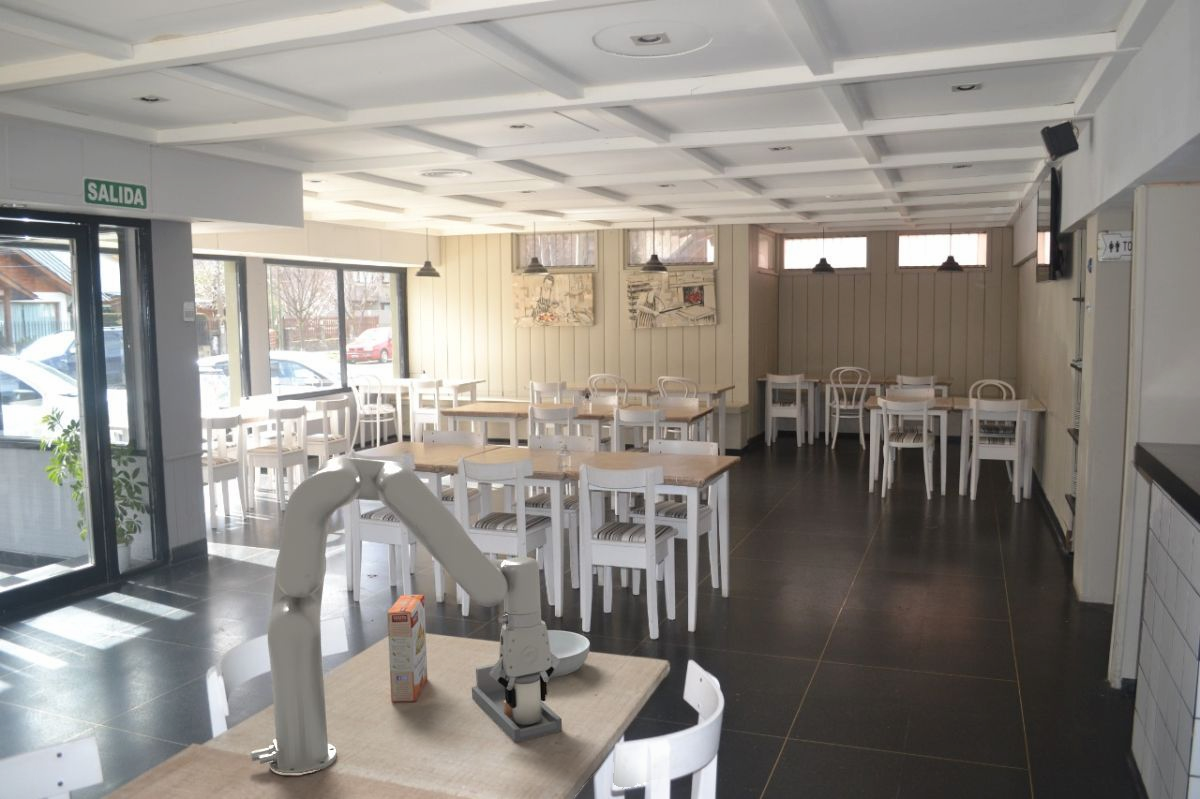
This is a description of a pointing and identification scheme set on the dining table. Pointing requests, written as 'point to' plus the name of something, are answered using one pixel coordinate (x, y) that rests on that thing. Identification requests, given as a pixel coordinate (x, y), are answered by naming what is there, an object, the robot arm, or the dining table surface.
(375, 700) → the dining table surface
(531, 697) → the jar
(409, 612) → the cracker box
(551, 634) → the serving bowl
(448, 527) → the robot arm
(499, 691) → the lane
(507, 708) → the pusher
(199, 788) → the dining table surface
